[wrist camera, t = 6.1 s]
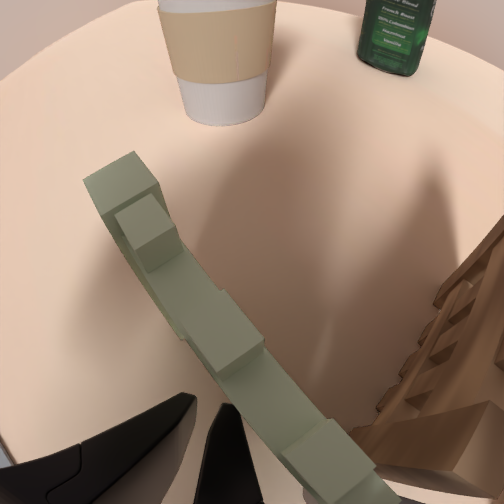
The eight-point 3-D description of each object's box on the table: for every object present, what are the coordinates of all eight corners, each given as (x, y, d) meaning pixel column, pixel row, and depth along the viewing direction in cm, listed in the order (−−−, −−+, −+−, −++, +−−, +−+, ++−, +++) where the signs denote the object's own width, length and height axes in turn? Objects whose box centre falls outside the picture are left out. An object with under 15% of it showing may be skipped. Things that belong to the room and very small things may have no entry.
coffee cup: (195, 78, 29) (180, -58, 16) (284, 86, 28) (290, -62, 15) (155, 129, 24) (119, -44, 12) (264, 141, 23) (266, -61, 10)
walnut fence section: (357, 471, 12) (497, 499, 3) (332, 454, 12) (451, 471, 4) (461, 299, 16) (566, 188, 8) (442, 284, 17) (539, 164, 8)
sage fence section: (355, 490, 11) (484, 537, 3) (320, 517, 10) (409, 608, 2) (194, 295, 16) (140, 147, 8) (161, 317, 16) (76, 183, 8)
